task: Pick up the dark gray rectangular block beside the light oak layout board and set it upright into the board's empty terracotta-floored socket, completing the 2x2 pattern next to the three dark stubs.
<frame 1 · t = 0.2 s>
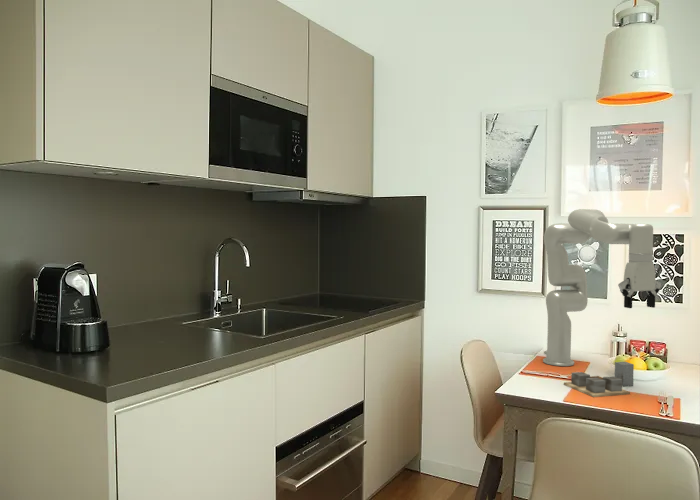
hand: (639, 307, 200), 30 cm above the table, fingers open, 9 cm apart
dark gray rectangular block: (623, 384, 210), on the table
layout board: (596, 389, 203), on the table
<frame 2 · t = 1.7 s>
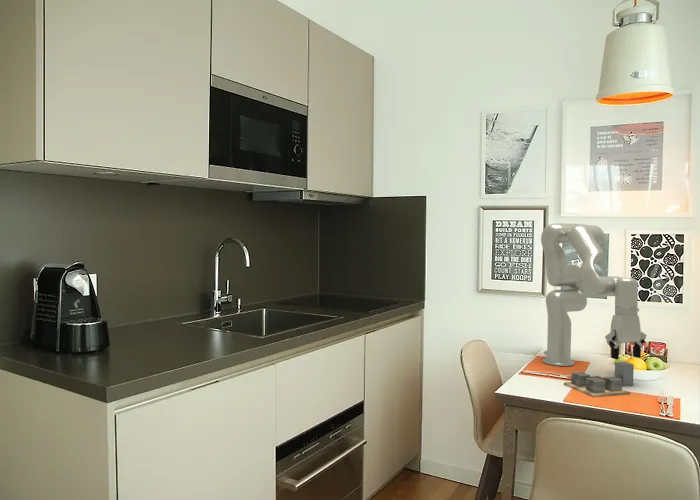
hand: (625, 358, 209), 10 cm above the table, fingers open, 9 cm apart
nothing on the table moved.
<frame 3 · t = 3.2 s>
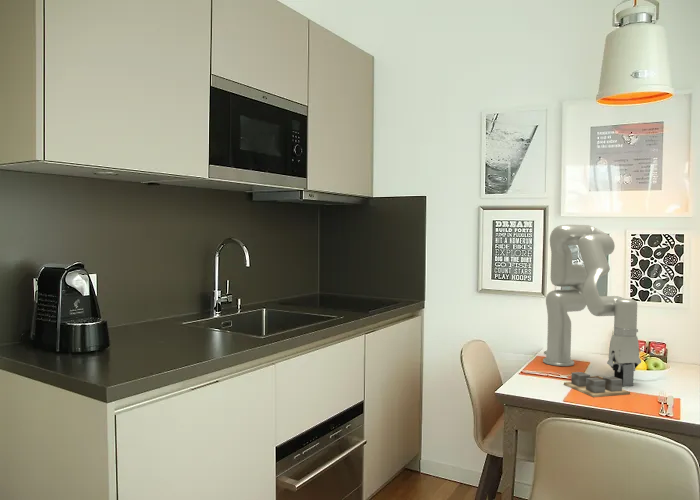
hand: (623, 381, 210), 1 cm above the table, fingers closed on dark gray rectangular block, 4 cm apart
dark gray rectangular block: (623, 384, 210), on the table, touching gripper
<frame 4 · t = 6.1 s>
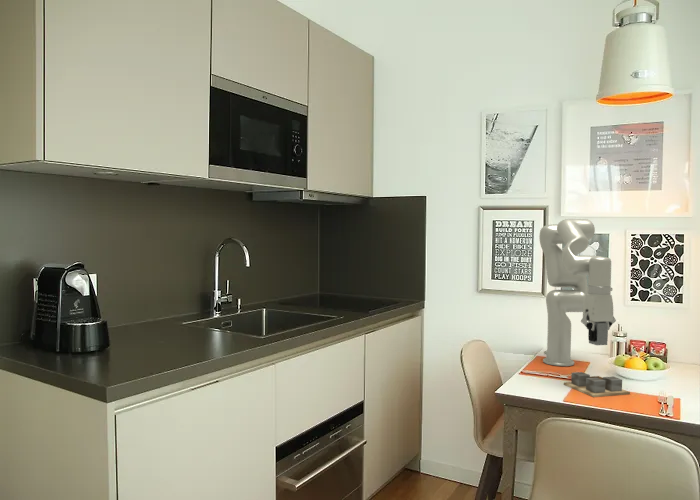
hand: (597, 340, 207), 17 cm above the table, fingers closed on dark gray rectangular block, 4 cm apart
dark gray rectangular block: (597, 343, 207), point 15 cm above the table, touching gripper
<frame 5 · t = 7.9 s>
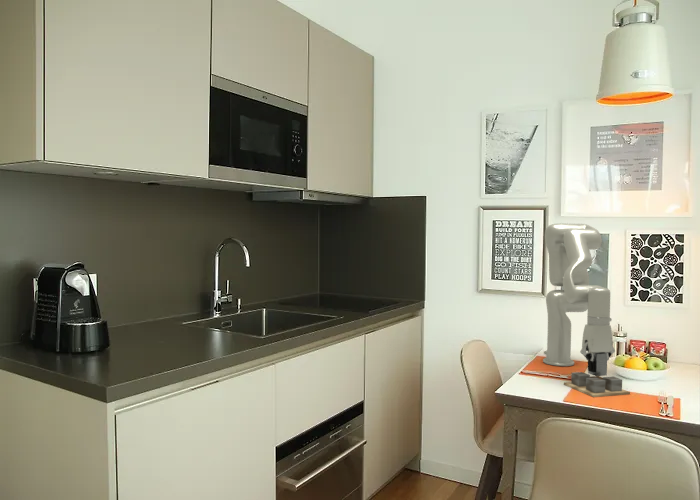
hand: (597, 370, 207), 6 cm above the table, fingers closed on dark gray rectangular block, 4 cm apart
dark gray rectangular block: (597, 374, 207), point 4 cm above the table, touching gripper
when the fingers open (3 cm above the table, at t = 9.2 s): dark gray rectangular block stays where it is, resting on layout board.
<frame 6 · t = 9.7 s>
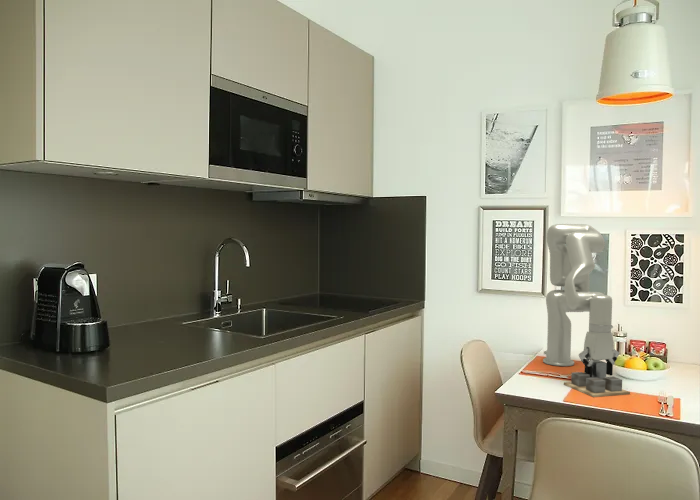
hand: (598, 375, 208), 4 cm above the table, fingers open, 8 cm apart
dark gray rectangular block: (596, 383, 208), point 1 cm above the table, touching layout board
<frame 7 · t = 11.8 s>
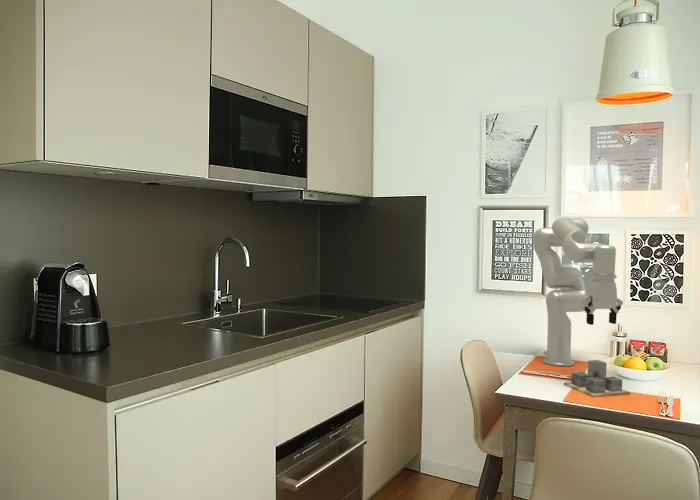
hand: (601, 323, 212), 22 cm above the table, fingers open, 9 cm apart
nothing on the table moved.
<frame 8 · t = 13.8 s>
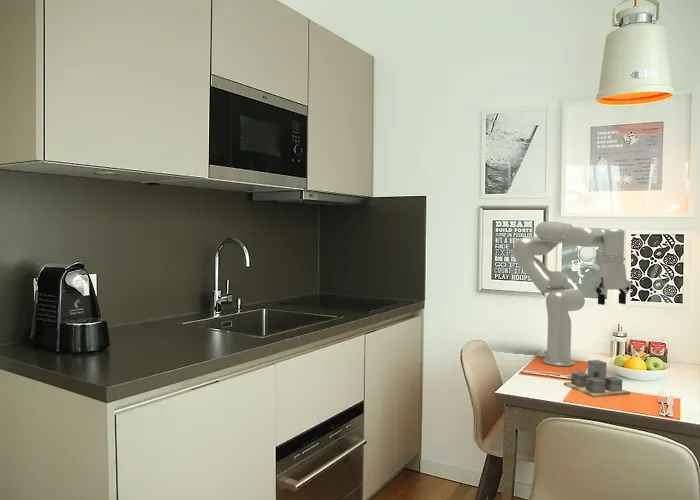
hand: (611, 304, 221), 28 cm above the table, fingers open, 9 cm apart
nothing on the table moved.
at the end: dark gray rectangular block 0.0 cm from the target spot on the layout board, point 0.9 cm above the layout board's base; dark gray rectangular block tilted 0°; the gripper is holding nothing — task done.
